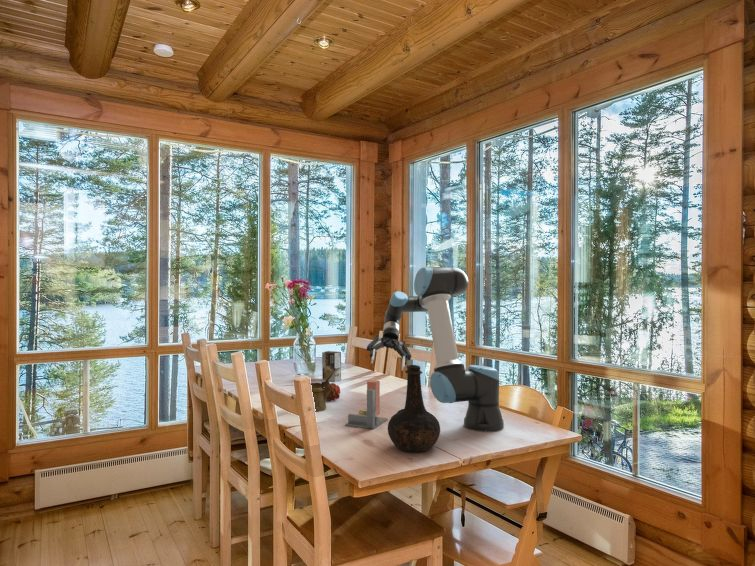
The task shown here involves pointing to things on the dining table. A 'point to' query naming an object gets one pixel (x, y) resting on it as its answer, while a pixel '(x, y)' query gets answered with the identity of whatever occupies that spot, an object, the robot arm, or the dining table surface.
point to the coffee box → (331, 365)
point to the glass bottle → (413, 418)
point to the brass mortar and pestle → (321, 392)
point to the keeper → (366, 415)
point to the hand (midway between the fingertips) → (387, 364)
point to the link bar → (375, 385)
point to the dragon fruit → (333, 392)
